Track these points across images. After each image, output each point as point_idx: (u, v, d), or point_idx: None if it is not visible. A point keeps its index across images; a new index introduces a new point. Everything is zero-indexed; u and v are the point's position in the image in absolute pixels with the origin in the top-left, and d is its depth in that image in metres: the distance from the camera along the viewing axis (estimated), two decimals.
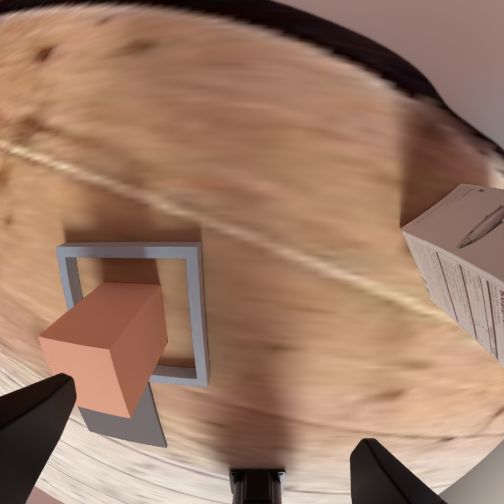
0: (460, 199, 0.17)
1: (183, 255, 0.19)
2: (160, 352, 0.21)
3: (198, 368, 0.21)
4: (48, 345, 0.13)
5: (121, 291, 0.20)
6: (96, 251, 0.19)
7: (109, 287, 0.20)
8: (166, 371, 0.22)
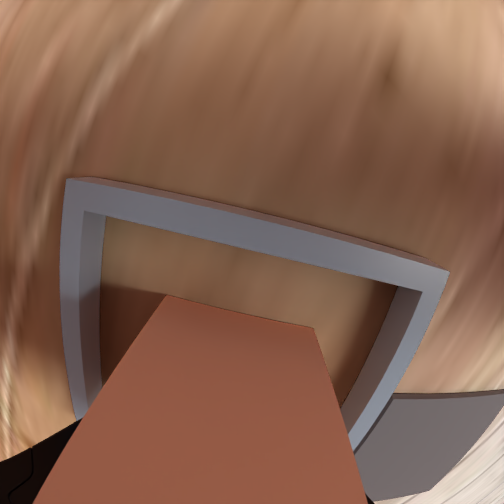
0: None
1: (77, 214, 0.07)
2: (317, 360, 0.08)
3: (395, 277, 0.08)
4: None
5: None
6: (76, 387, 0.09)
7: None
8: (380, 358, 0.09)
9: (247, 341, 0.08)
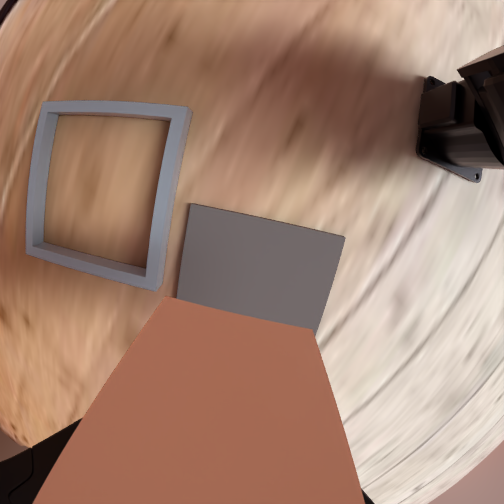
0: None
1: (45, 113, 0.15)
2: (316, 362, 0.08)
3: (155, 112, 0.16)
4: None
5: None
6: (29, 204, 0.17)
7: None
8: None
9: (246, 342, 0.08)
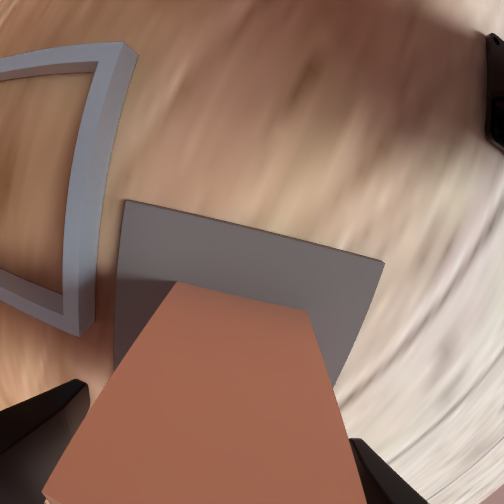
0: None
1: None
2: (308, 336, 0.09)
3: (77, 57, 0.08)
4: None
5: None
6: None
7: None
8: None
9: (248, 319, 0.09)
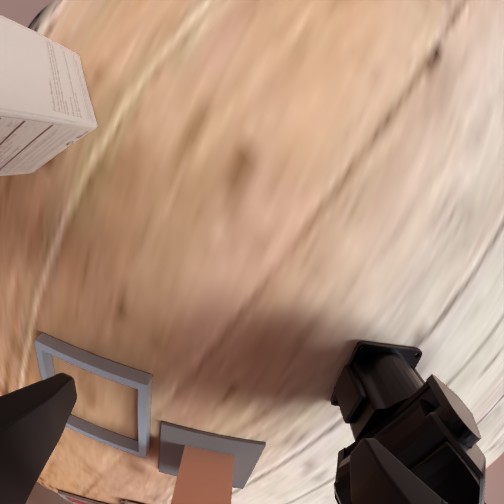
0: None
1: (40, 350, 0.20)
2: (231, 469, 0.22)
3: (125, 383, 0.21)
4: None
5: None
6: None
7: None
8: None
9: (210, 463, 0.22)
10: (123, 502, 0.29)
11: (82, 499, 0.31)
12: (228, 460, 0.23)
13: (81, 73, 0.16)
